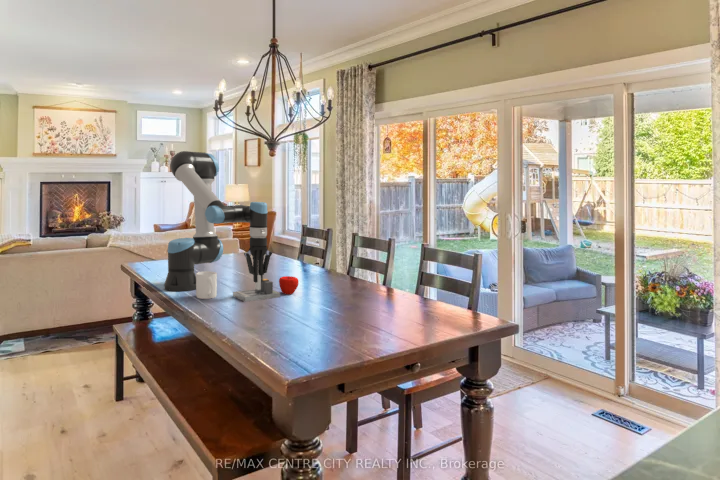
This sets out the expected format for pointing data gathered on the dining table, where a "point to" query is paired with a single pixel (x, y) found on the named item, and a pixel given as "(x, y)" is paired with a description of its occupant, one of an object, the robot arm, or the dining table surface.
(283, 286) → the apple
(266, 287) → the breaker
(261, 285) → the block
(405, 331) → the dining table surface
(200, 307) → the dining table surface
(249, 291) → the panel
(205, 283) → the mug
